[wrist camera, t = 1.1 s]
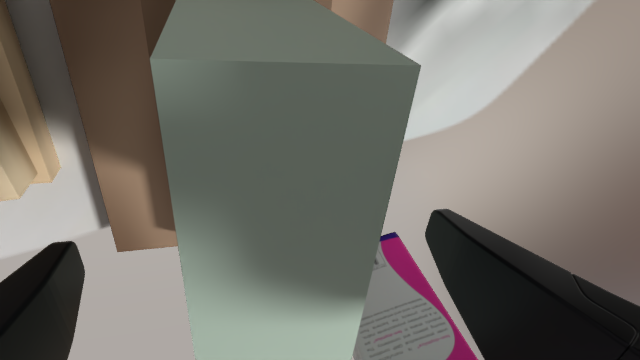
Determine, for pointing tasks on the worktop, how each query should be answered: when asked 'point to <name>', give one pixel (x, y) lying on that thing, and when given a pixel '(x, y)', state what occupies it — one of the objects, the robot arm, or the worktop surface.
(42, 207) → the worktop surface
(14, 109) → the offcut lower
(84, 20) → the rack
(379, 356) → the supplement box
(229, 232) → the sage green block
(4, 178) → the offcut upper
